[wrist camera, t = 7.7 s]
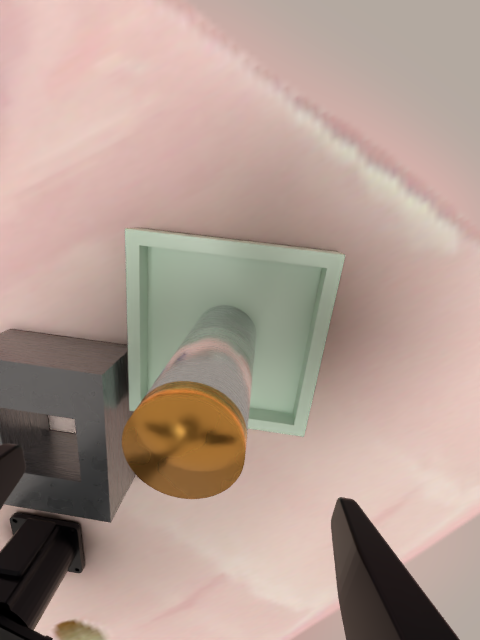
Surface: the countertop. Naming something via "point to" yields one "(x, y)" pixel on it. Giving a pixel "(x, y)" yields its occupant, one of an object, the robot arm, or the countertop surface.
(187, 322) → the tray
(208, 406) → the pin
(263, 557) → the countertop surface
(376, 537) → the robot arm
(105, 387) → the block
